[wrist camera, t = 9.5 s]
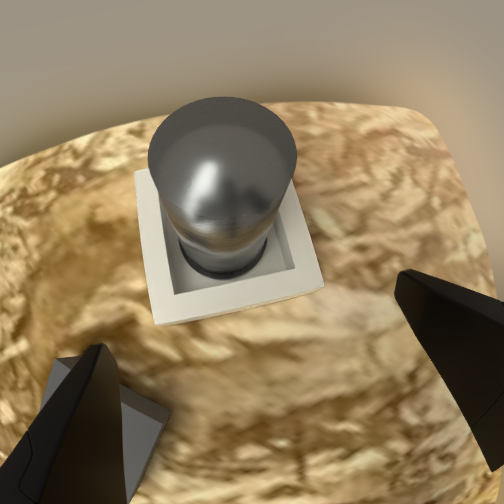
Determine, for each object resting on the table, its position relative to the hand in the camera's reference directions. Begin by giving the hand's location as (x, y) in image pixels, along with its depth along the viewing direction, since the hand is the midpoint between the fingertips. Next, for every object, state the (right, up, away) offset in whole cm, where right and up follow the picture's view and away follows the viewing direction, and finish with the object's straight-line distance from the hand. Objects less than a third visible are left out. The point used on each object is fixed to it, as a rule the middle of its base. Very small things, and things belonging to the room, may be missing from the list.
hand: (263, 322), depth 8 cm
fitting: (-2, +3, +10) cm, 10 cm away
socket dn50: (-2, +3, +10) cm, 11 cm away
